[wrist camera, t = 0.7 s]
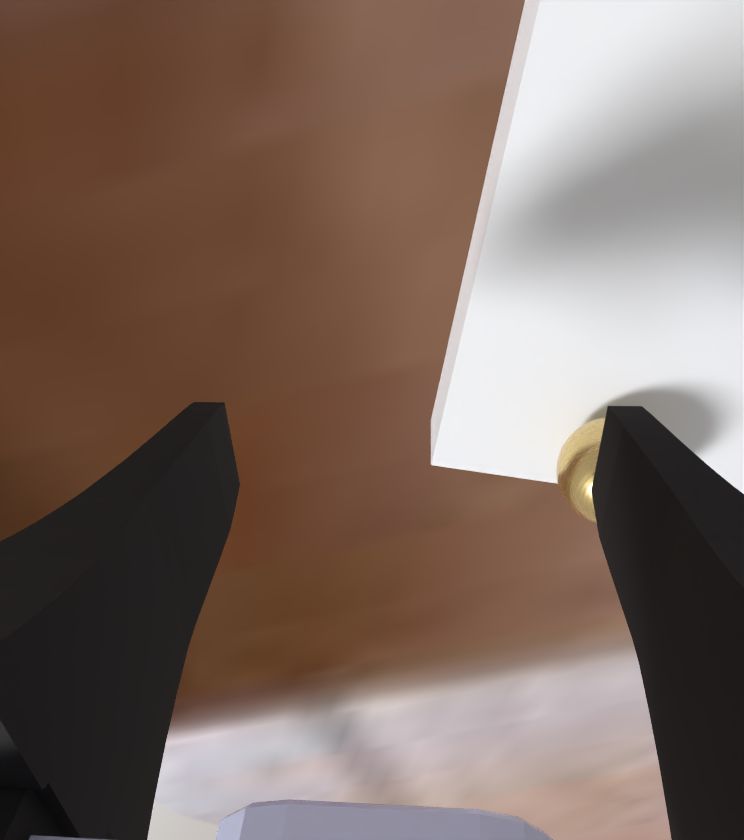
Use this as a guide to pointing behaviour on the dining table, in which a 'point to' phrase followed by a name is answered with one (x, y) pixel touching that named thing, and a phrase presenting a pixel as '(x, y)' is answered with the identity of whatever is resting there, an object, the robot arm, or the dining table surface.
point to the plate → (606, 240)
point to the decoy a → (580, 467)
